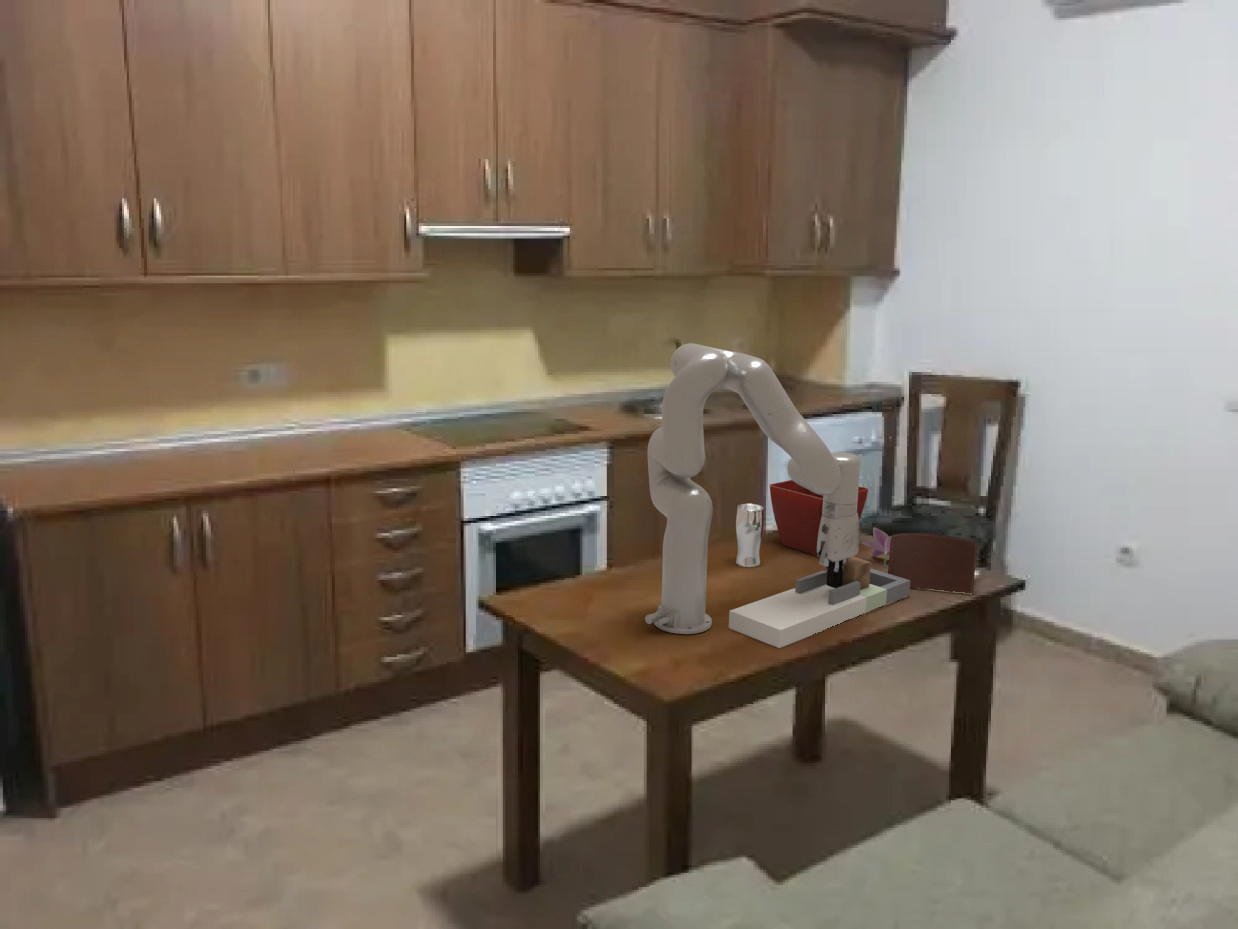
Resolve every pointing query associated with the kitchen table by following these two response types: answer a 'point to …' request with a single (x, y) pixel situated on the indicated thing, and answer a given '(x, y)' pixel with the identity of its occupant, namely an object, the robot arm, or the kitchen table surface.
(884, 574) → the channel deck
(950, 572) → the letter holder
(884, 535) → the lily
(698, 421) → the robot arm
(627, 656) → the kitchen table surface
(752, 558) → the beer glass
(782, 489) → the plant pot
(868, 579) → the walnut block
